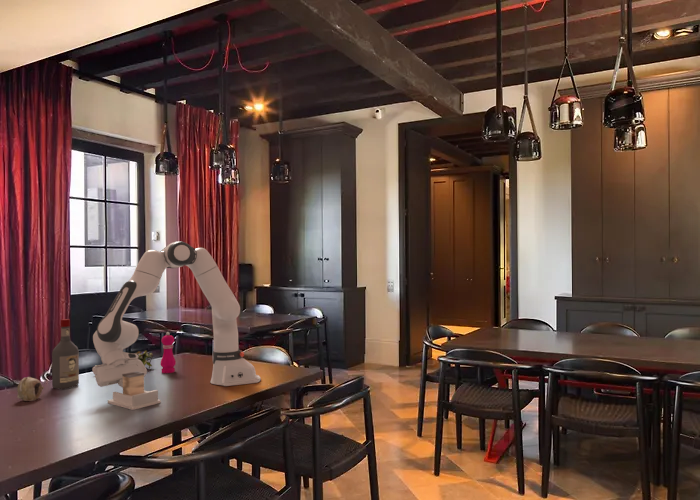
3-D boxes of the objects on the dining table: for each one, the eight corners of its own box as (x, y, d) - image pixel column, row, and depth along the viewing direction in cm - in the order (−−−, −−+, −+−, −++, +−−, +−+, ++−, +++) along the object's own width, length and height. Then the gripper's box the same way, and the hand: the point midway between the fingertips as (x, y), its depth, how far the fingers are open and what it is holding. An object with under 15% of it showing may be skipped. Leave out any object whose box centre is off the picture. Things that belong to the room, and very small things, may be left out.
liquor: (49, 387, 241) (49, 320, 241) (68, 383, 249) (68, 318, 249) (62, 390, 237) (62, 321, 237) (81, 385, 245) (81, 318, 245)
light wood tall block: (122, 400, 213) (122, 374, 213) (136, 396, 218) (136, 371, 218) (130, 402, 210) (129, 375, 210) (144, 398, 215) (144, 372, 215)
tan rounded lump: (21, 408, 217) (12, 387, 214) (20, 400, 224) (11, 379, 221) (46, 398, 221) (38, 376, 218) (45, 390, 228) (37, 369, 225)
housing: (107, 402, 214) (107, 390, 214) (135, 396, 224) (135, 384, 224) (132, 409, 204) (132, 396, 204) (160, 402, 214) (160, 389, 214)
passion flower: (138, 379, 280) (142, 357, 287) (156, 376, 278) (160, 354, 285) (124, 370, 272) (129, 348, 279) (143, 367, 269) (148, 345, 276)
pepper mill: (171, 373, 267) (170, 333, 267) (157, 373, 268) (157, 332, 268) (178, 370, 274) (178, 331, 274) (165, 370, 275) (165, 330, 275)
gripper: (93, 361, 212) (107, 389, 207) (140, 353, 229) (154, 379, 223) (87, 371, 215) (101, 399, 209) (134, 362, 232) (148, 389, 226)
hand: (129, 389), depth 216 cm, fingers closed, pressing on light wood tall block
